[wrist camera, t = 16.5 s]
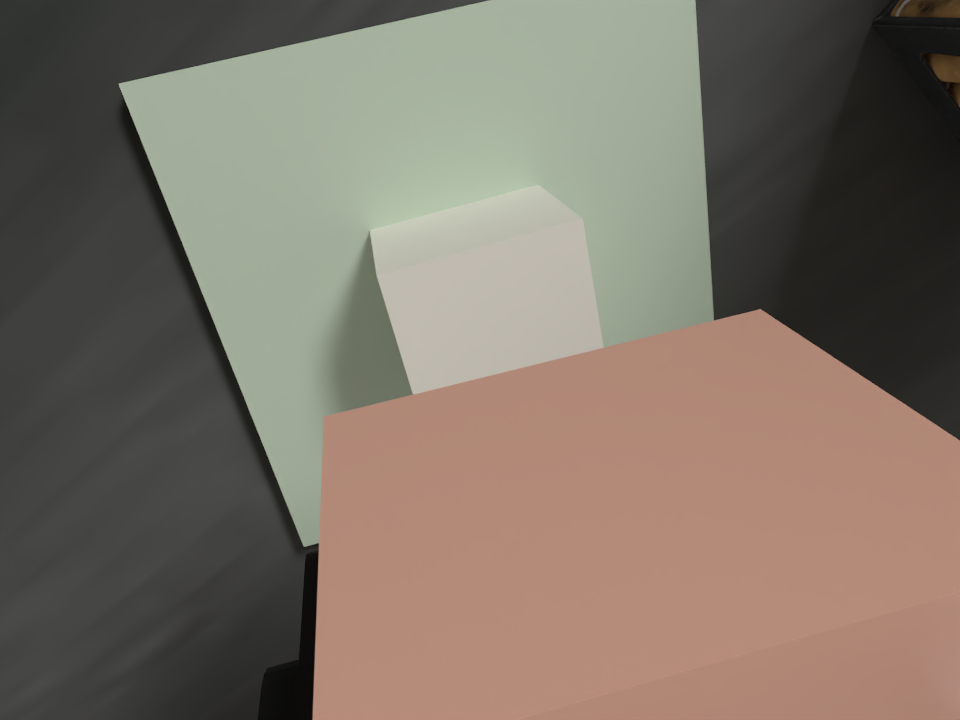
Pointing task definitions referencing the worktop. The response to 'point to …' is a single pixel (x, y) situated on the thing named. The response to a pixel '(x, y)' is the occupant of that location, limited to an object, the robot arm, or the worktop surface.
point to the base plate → (423, 185)
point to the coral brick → (642, 542)
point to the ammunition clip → (927, 49)
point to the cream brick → (487, 288)
